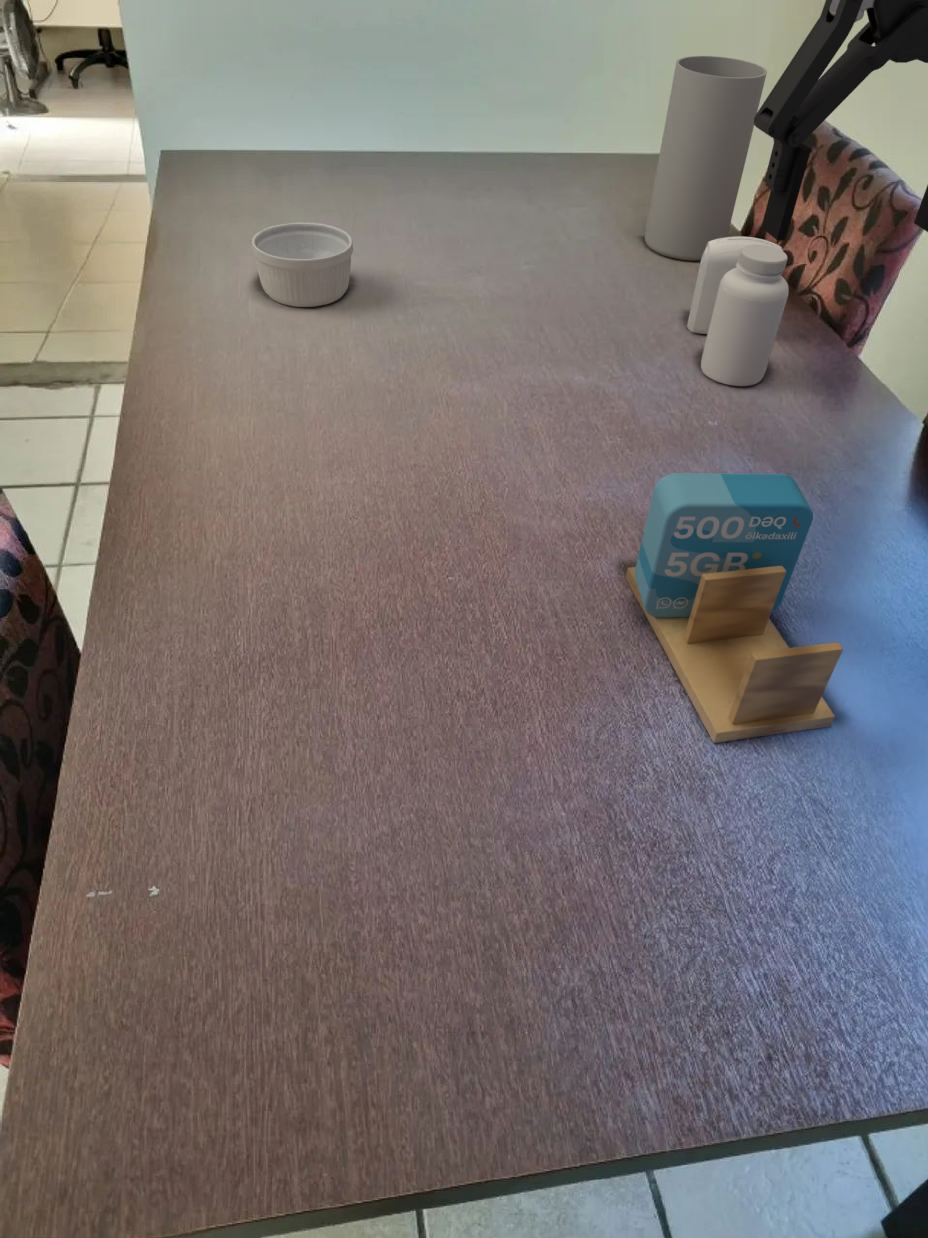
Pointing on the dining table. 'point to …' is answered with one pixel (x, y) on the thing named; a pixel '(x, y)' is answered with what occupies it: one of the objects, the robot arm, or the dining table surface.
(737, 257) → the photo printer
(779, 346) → the dining table surface
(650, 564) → the data package
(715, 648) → the slot rack
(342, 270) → the ramekin
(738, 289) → the pill bottle
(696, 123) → the cylinder vase
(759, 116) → the robot arm
